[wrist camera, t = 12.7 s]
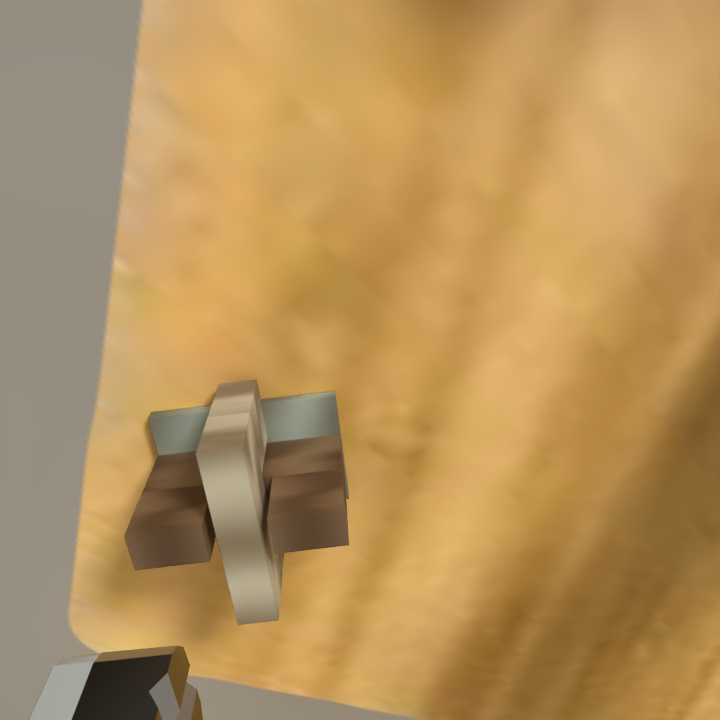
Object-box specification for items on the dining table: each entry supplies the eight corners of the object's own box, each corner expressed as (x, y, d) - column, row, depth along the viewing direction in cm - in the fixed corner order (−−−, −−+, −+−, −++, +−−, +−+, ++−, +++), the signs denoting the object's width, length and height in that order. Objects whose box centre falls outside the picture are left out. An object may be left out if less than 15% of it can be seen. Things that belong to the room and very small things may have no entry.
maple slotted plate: (218, 384, 40) (195, 453, 33) (256, 379, 40) (242, 448, 33) (251, 535, 45) (238, 625, 38) (285, 531, 45) (278, 620, 38)
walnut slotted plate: (334, 391, 42) (338, 467, 34) (348, 491, 45) (354, 583, 37) (151, 412, 42) (110, 494, 34) (178, 511, 45) (147, 607, 37)
